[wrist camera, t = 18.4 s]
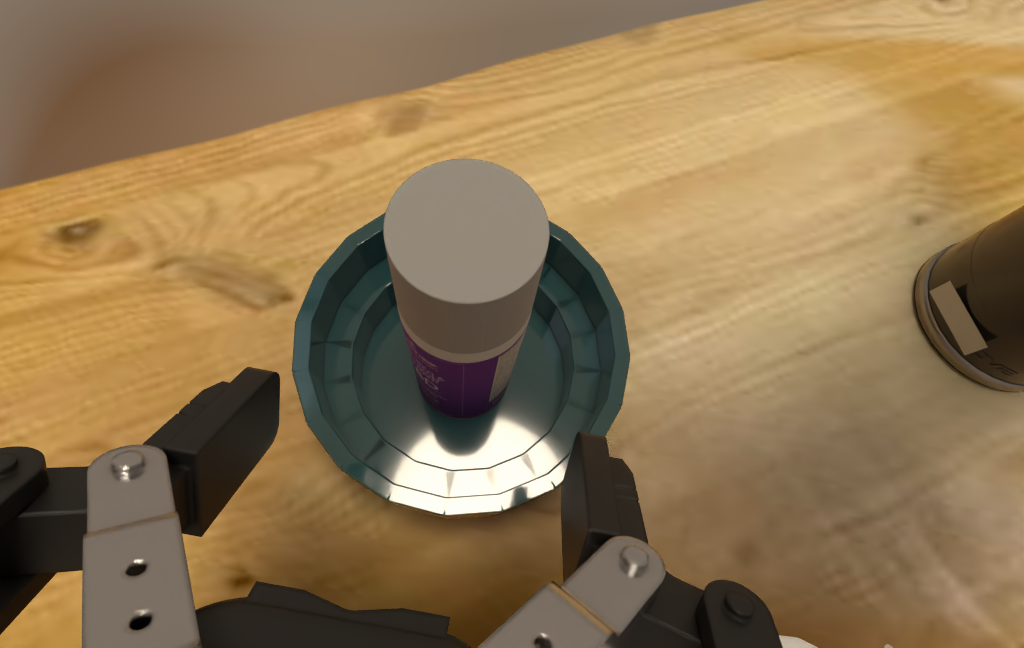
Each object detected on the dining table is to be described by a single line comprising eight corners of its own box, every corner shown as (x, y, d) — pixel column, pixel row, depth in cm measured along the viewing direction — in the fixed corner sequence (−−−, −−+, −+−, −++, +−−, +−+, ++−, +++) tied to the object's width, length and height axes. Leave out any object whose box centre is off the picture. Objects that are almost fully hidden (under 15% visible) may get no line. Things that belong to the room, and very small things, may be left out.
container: (401, 396, 28) (344, 262, 14) (442, 319, 30) (428, 129, 16) (485, 435, 28) (512, 338, 14) (522, 355, 29) (580, 194, 15)
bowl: (483, 211, 33) (488, 146, 28) (651, 395, 30) (694, 363, 25) (270, 355, 29) (225, 312, 23) (439, 584, 26) (434, 599, 20)
